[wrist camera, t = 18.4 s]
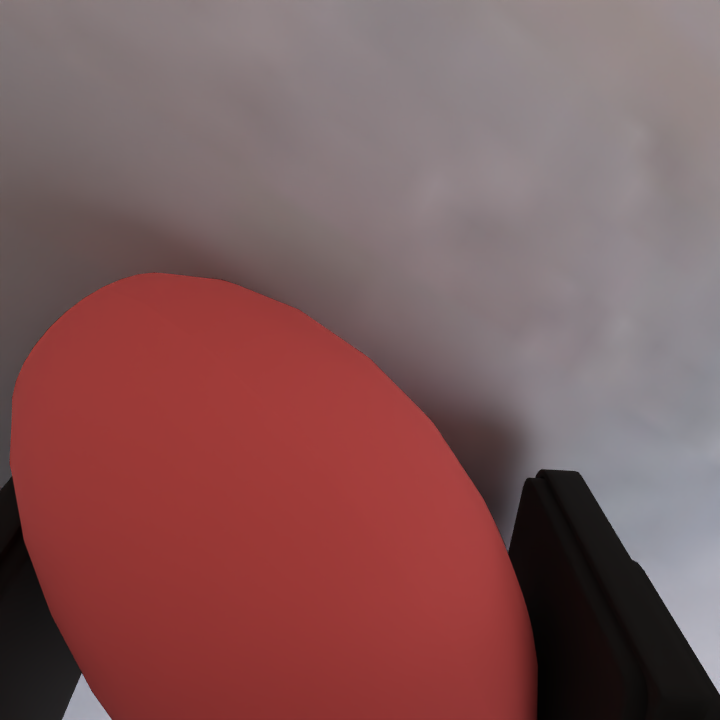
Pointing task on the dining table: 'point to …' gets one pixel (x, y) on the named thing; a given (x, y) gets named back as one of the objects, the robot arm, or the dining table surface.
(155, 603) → the stress ball
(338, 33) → the dining table surface
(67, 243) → the dining table surface
